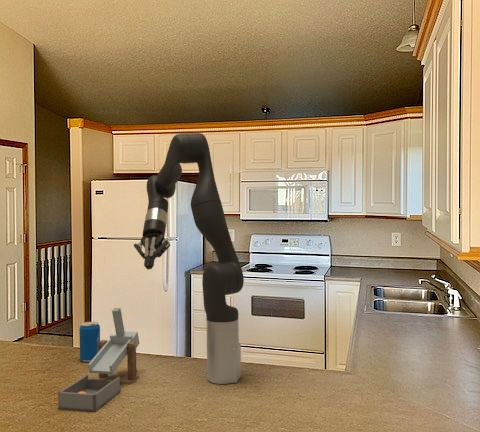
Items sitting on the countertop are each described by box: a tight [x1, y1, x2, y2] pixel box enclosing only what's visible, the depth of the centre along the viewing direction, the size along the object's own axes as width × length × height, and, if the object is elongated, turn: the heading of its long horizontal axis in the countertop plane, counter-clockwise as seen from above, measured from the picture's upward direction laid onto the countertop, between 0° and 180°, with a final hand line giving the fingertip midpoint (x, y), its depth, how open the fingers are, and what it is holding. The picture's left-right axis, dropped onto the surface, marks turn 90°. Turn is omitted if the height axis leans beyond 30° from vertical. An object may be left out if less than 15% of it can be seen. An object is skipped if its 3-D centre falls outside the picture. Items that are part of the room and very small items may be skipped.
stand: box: [97, 339, 140, 385], centre depth 138 cm, size 12×5×11 cm, turn 77°
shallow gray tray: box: [57, 374, 121, 413], centre depth 123 cm, size 10×13×4 cm
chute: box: [88, 307, 140, 374], centre depth 136 cm, size 7×18×14 cm, turn 168°
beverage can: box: [79, 321, 101, 363], centre depth 157 cm, size 6×6×12 cm
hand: (148, 268), depth 155 cm, fingers closed
